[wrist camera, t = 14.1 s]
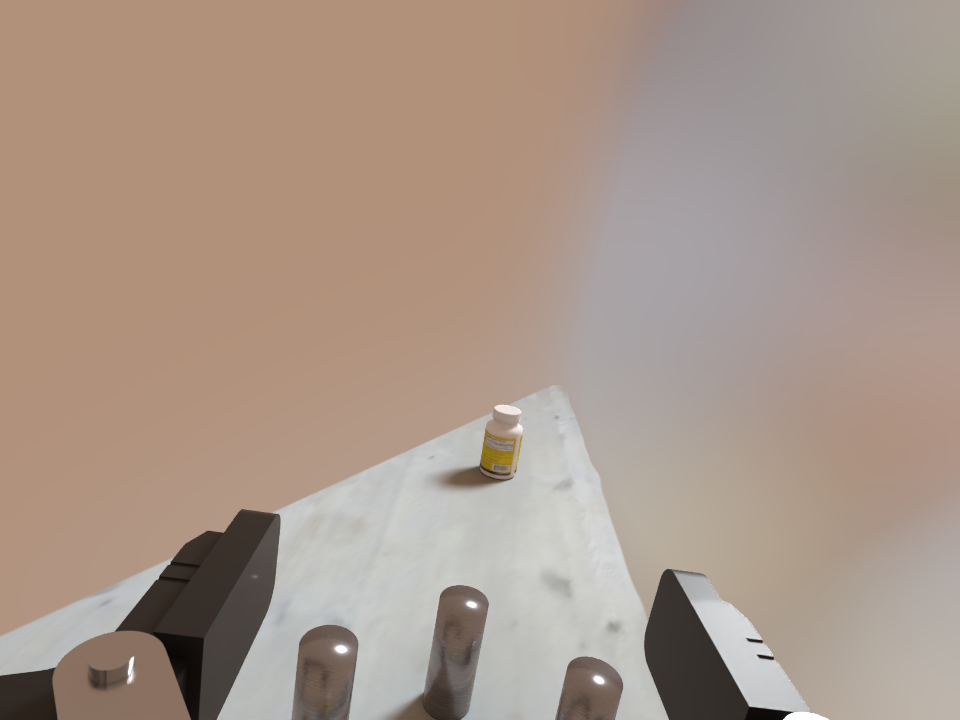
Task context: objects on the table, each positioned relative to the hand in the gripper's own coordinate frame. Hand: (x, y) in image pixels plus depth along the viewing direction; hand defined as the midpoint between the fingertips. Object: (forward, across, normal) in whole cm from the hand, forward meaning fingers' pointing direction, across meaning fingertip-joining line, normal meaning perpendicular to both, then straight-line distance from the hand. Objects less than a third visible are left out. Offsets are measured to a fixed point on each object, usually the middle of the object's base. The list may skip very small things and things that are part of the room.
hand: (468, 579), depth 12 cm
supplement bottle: (+70, -10, +30) cm, 77 cm away
